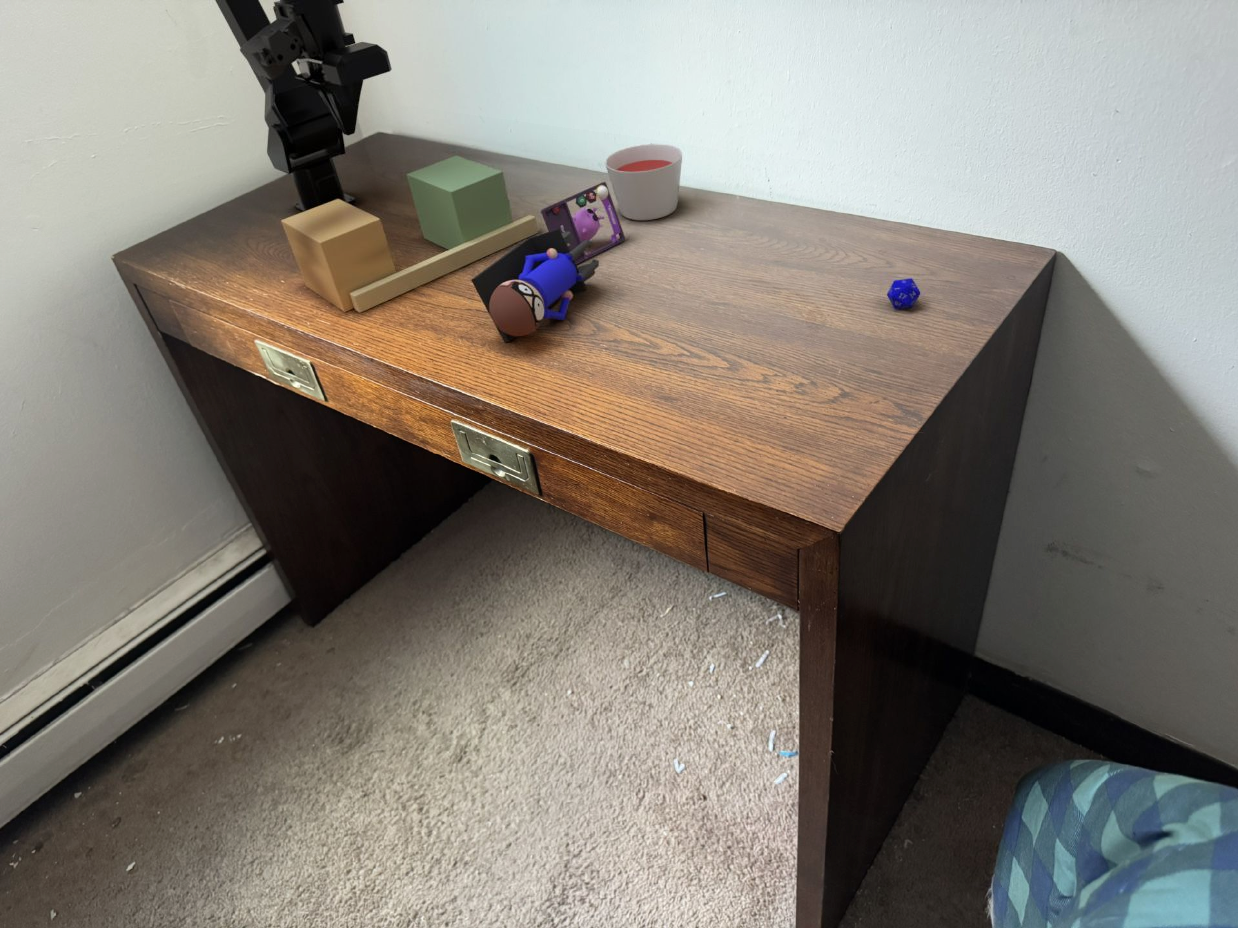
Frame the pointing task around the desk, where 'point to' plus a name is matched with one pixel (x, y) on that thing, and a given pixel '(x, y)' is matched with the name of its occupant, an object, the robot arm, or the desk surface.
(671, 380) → the desk surface
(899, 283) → the die
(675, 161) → the candle
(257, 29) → the robot arm
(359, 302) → the straightedge
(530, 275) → the character figurine
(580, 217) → the game card
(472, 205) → the green block
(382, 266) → the maple block
